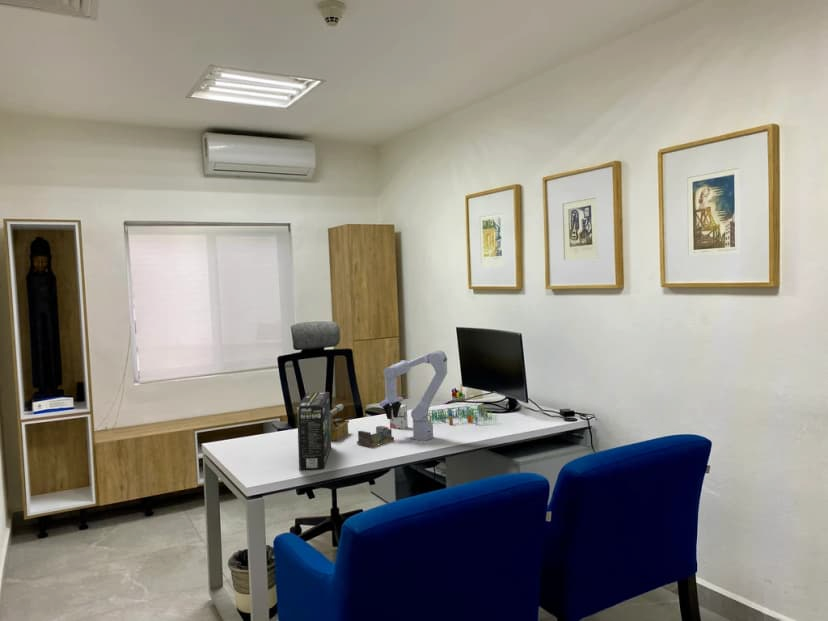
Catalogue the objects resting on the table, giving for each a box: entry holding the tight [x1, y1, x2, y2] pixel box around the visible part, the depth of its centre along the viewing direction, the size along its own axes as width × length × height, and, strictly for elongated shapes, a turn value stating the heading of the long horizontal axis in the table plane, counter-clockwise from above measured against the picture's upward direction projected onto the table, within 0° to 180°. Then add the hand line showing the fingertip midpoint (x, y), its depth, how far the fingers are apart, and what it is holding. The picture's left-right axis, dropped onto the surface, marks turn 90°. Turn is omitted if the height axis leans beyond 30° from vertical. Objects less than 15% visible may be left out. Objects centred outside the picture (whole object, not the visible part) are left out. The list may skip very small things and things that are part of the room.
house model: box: [427, 404, 498, 426], centre depth 334 cm, size 35×30×5 cm
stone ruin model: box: [356, 428, 395, 448], centre depth 294 cm, size 16×9×6 cm, turn 138°
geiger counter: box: [330, 403, 350, 442], centre depth 304 cm, size 9×26×15 cm, turn 167°
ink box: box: [389, 404, 409, 430], centre depth 322 cm, size 9×5×12 cm, turn 62°
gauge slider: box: [375, 425, 390, 433], centre depth 297 cm, size 3×7×4 cm, turn 48°
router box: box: [296, 391, 332, 471], centre depth 271 cm, size 36×11×27 cm, turn 3°
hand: (392, 418), depth 303 cm, fingers open, 4 cm apart
